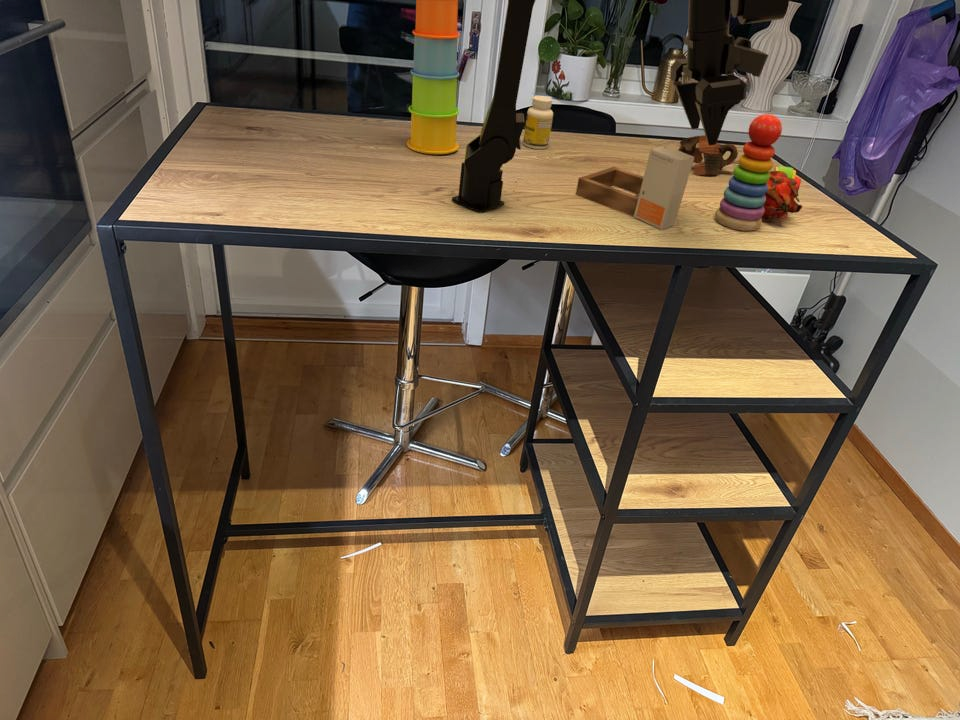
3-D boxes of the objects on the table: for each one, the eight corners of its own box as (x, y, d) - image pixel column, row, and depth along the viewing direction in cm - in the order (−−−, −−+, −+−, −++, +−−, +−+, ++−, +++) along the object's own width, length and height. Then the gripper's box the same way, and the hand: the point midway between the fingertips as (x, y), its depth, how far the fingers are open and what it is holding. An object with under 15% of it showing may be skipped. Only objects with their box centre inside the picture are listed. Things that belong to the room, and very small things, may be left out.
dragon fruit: (759, 208, 136) (774, 244, 127) (731, 182, 133) (745, 216, 124) (798, 178, 131) (817, 213, 123) (771, 150, 128) (788, 184, 119)
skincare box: (632, 217, 121) (649, 148, 114) (646, 213, 124) (664, 145, 117) (661, 230, 117) (681, 159, 111) (675, 225, 120) (695, 156, 114)
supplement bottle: (519, 141, 151) (525, 94, 146) (542, 142, 153) (549, 95, 148) (527, 149, 147) (535, 101, 142) (551, 150, 149) (560, 102, 143)
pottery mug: (681, 177, 145) (678, 136, 145) (676, 184, 154) (673, 145, 154) (742, 170, 143) (740, 129, 143) (733, 178, 152) (731, 139, 152)
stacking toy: (724, 211, 129) (757, 105, 119) (766, 225, 125) (804, 117, 115) (706, 221, 124) (739, 111, 113) (749, 236, 120) (788, 124, 110)
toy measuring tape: (757, 206, 133) (768, 172, 130) (760, 178, 149) (770, 147, 145) (793, 214, 132) (805, 179, 128) (792, 184, 147) (802, 153, 144)
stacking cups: (424, 158, 135) (439, -51, 116) (397, 142, 141) (406, -58, 122) (468, 153, 140) (489, -47, 121) (439, 137, 147) (455, -54, 128)
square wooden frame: (575, 194, 128) (578, 178, 126) (631, 174, 141) (635, 159, 139) (632, 216, 122) (636, 199, 120) (685, 193, 135) (689, 178, 133)
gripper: (789, 30, 95) (777, 146, 103) (742, 12, 110) (735, 114, 119) (706, 42, 95) (700, 156, 104) (670, 22, 111) (668, 123, 119)
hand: (703, 136), depth 111 cm, fingers open, 9 cm apart
